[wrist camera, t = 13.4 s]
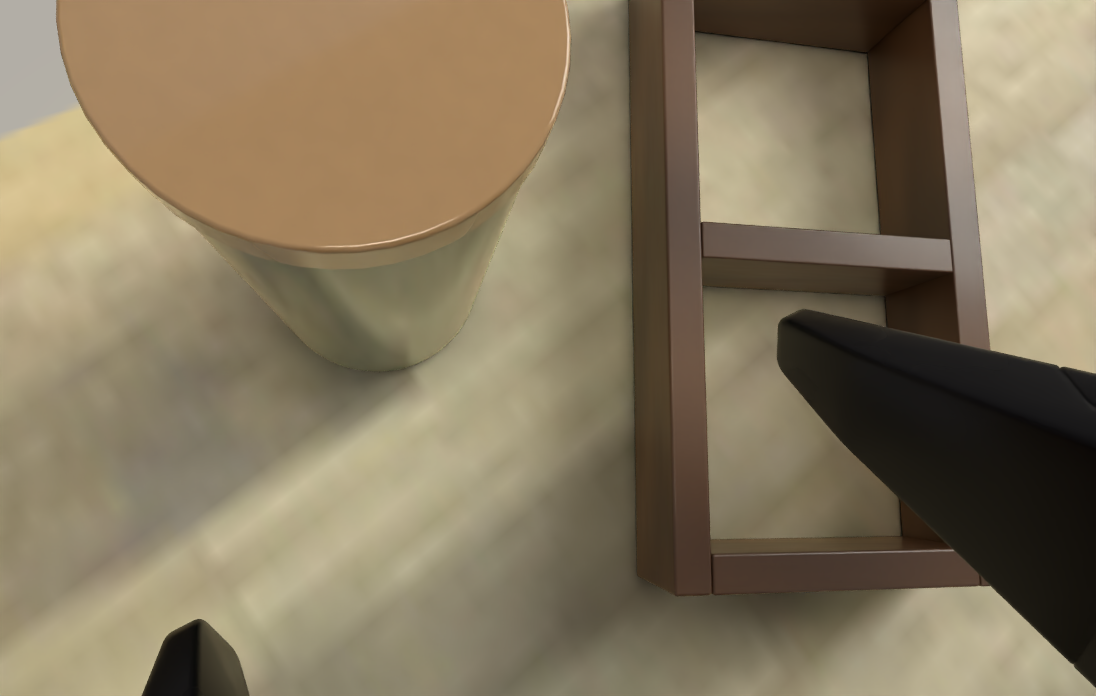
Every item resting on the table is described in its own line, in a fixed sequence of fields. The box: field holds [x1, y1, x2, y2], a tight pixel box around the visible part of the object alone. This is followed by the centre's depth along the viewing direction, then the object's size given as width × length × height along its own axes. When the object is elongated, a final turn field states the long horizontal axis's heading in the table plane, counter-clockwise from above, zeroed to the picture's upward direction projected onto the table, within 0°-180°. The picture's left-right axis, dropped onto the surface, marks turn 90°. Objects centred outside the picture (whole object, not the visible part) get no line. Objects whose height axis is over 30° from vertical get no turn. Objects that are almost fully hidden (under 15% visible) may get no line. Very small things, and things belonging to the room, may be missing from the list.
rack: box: [629, 0, 990, 596], centre depth 21 cm, size 18×10×3 cm, turn 0°
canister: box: [56, 0, 571, 372], centre depth 14 cm, size 6×6×12 cm
